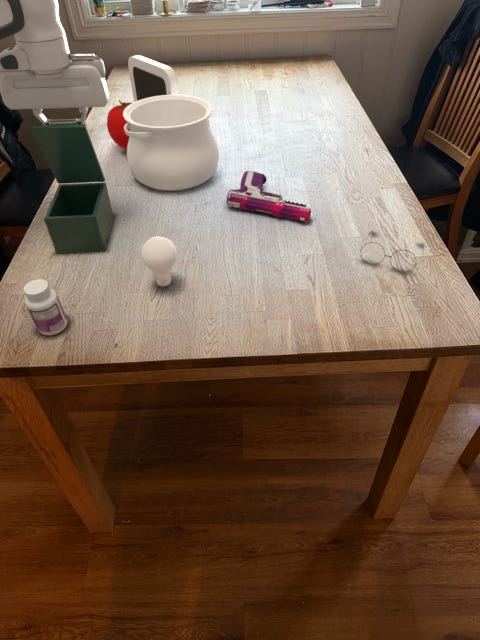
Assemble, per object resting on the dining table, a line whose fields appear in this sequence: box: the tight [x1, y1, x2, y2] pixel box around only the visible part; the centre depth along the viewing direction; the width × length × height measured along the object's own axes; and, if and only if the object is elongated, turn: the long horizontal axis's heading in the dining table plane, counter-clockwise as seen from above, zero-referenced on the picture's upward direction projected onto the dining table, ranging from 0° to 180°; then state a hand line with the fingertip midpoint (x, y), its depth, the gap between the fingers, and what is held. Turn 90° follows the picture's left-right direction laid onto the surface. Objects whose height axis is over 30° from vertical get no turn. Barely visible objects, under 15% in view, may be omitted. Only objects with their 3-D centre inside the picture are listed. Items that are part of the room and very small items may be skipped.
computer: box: [127, 54, 180, 103], centre depth 132 cm, size 22×22×3 cm
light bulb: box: [141, 235, 178, 288], centre depth 87 cm, size 7×7×11 cm
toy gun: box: [226, 170, 312, 223], centre depth 111 cm, size 4×22×15 cm
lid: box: [30, 118, 106, 185], centre depth 97 cm, size 15×11×5 cm
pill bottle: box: [23, 278, 68, 336], centre depth 79 cm, size 5×5×10 cm
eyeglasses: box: [359, 230, 425, 273], centre depth 95 cm, size 11×13×5 cm
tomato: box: [106, 99, 134, 151], centre depth 131 cm, size 12×12×13 cm
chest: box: [43, 181, 114, 254], centre depth 101 cm, size 15×11×9 cm
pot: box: [123, 94, 220, 192], centre depth 118 cm, size 26×24×17 cm
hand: (65, 129), depth 94 cm, fingers closed on lid, 5 cm apart
